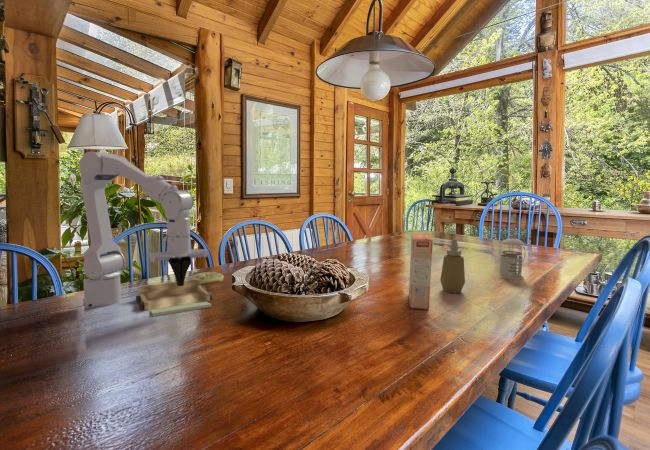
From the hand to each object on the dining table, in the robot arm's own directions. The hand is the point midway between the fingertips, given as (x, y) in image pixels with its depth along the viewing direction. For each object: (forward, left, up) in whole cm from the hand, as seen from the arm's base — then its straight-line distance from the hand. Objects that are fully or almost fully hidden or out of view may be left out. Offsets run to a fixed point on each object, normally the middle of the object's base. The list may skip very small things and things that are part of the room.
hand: (180, 285), depth 105 cm
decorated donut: (+15, +28, -9) cm, 33 cm away
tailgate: (0, +4, -7) cm, 8 cm away
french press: (+122, -20, -9) cm, 124 cm away
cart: (0, +10, -8) cm, 13 cm away
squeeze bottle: (+84, -22, -9) cm, 88 cm away
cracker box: (+65, -25, -9) cm, 70 cm away
